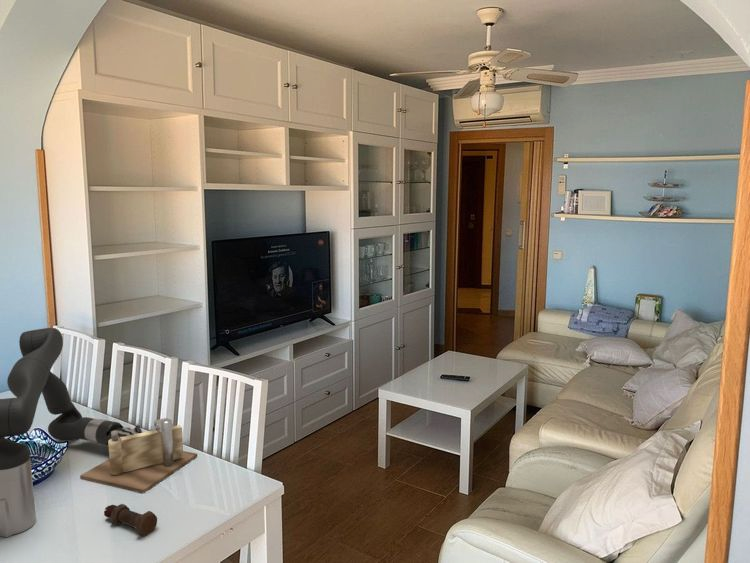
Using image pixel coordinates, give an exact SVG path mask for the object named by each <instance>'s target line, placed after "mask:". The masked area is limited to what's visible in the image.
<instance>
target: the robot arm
mask: <svg viewBox="0 0 750 563" xmlns="http://www.w3.org/2000/svg"><path fill="white" fill-rule="evenodd" d="M63 338H64V337H63V334H62V332H61V331H60V330H59V329H58V328H55V327H45V328H44V327H43V328H38V329H33V330H27V331H24V332H22V333H21V334H20V336H19V340H18V342H19V349H20V353H21V356H22V357H21V358H20V359H18V360H17V361H16V362H15V363H14V364H13V366H12V368H11V370H10V372H9V374H8V375H7V376H8V377H7V379H6V380H7V381H6V382H7V383H6V384H7V387H8V389H9V391H10V392H11V393H12V395H14V396H15V397H10V398H7V397H6V398H0V537H3V538H9V537H10V536H13V535H16V534H20V533H22V532H26V530H29V529H30V528H31V527H32V526H34V525H35V524H36V521H37V516H36V505H35V504H36V503H35V496H34V495H35V494H34V484H33V473H32V462H31V451H30V448H29V446H28V445H27V444H25V443H21V442H18V441H12V440H10V439H8V438H9V437H10V438H11V437H18V436H22V435H25V434H27V433H28V432H29V431H30V430H31V429H32V428H31V427H32V425H33V423H34V419H35V416H36V412H37V407H38V403H39V400H40V397H41V395H42V397H43V399H44V402H45V405H46V409H47V410H48V412H49V413H50V414H51V415H54V416H56V415H57V417H55V418H54V419H53V420H52V421H50V422H49V424H48V426H47V432H48V434H49V435H50V437H52V438H53V439H54V440H58V441H73V440H74V441H75V440H83V441H88V442H90V443H91V442H92V443H95V444H99V445H104V446H106V447H107V446H108V447H109V445H108V441H109V440H110V439H112V438H111V431H114V430H117V431H118V438H120V437H125V436H130V435H134V434H139V433H143V431H142V429H141V426H140V425H139V424H138V425H135V427H134V428H130V427H124V426H123V425H122V424H121V423H120V422H117V421H113V420H106V419H101V418H93V417H87V416H84V417H83V415H82V413H81V412H80V411H79V410H78V408H77V407H76V406H75V404H74V403H73V402H72V400H71V396H70V393H69V390H68V387H67V386H66V383H65V382H64V381H63V380H62V379H61V378H60V377H58V376H57V375H56V374H54V373H53V372H52V371H51V370H52V368H53V366H54V364H55V363H56V361H57V360H58V358H59V356H60V355H61V353H62V350H63V346H64V339H63Z"/></svg>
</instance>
